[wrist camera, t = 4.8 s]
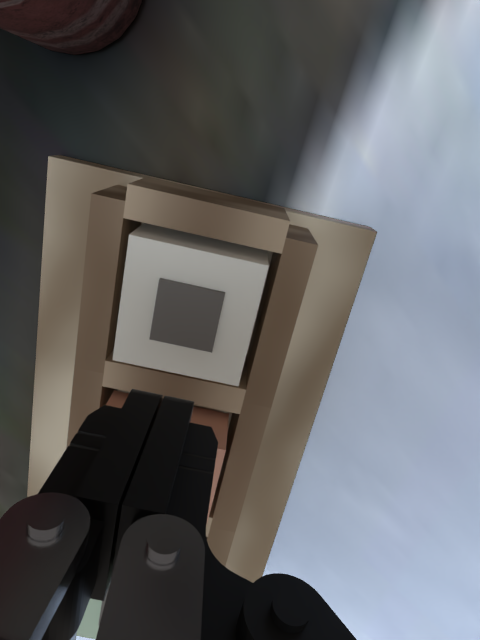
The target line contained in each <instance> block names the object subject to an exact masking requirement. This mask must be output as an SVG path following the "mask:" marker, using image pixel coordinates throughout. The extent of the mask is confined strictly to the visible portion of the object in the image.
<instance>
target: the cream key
mask: <svg viewBox="0 0 480 640" xmlns="http://www.w3.org/2000/svg"><path fill="white" fill-rule="evenodd" d="M268 267H269V263H268V255H267V250H262V249H258V248H254V247H249V246H245V245H240V244H236V243H231V242H227V241H223V240H218V239H214V238H209V237H205V236H201V235H196V234H192V233H187V232H183V231H178V230H174V229H170V228H165V227H161V226H156V225H152V224H147V223H143V224H142V225H141V226H139V227H138V228H137V229H136V230H134V231H133V232H132V233H130V234H129V238H128V246H127V254H126V261H125V269H124V276H123V284H122V291H121V299H120V307H119V314H118V322H117V329H116V337H115V344H114V352H113V360H114V361H119V362H124V363H129V364H133V365H138V366H143V367H148V368H153V369H157V370H162V371H167V372H172V373H177V374H181V375H186V376H191V377H196V378H201V379H206V380H210V381H215V382H220V383H225V384H230V385H234V386H239V382H240V378H241V374H242V370H243V366H244V362H245V358H246V354H247V350H248V346H249V342H250V338H251V334H252V330H253V326H254V323H255V319H256V315H257V311H258V307H259V303H260V299H261V295H262V291H263V287H264V283H265V279H266V275H267V271H268Z"/></svg>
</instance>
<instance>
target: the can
mask: <svg viewBox="0 0 480 640" xmlns="http://www.w3.org/2000/svg"><path fill="white" fill-rule="evenodd" d="M141 2H142V0H0V28H1V29H3V30H6V31H8V32H10V33H12V34H15V35H17V36H19V37H21V38H24V39H26V40H28V41H31V42H33V43H35V44H37V45H40V46H42V47H44V48H46V49H49V50H51V51H57V52H62V53H68V54H74V55H77V54H83V53H88V52H94V51H99V50H101V49H102V48H104V47H105V46H107V45H109V44H110V43H112V42H114V41H115V40H117V39H118V38H120V37H121V35H122V34H123V33H124V32H125V30H126V29H127V28H128V26H129V25H130V24H131V23H132V21H133V20H134V19H135V17H136V16H137V13H138V10H139V7H140V5H141Z"/></svg>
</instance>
